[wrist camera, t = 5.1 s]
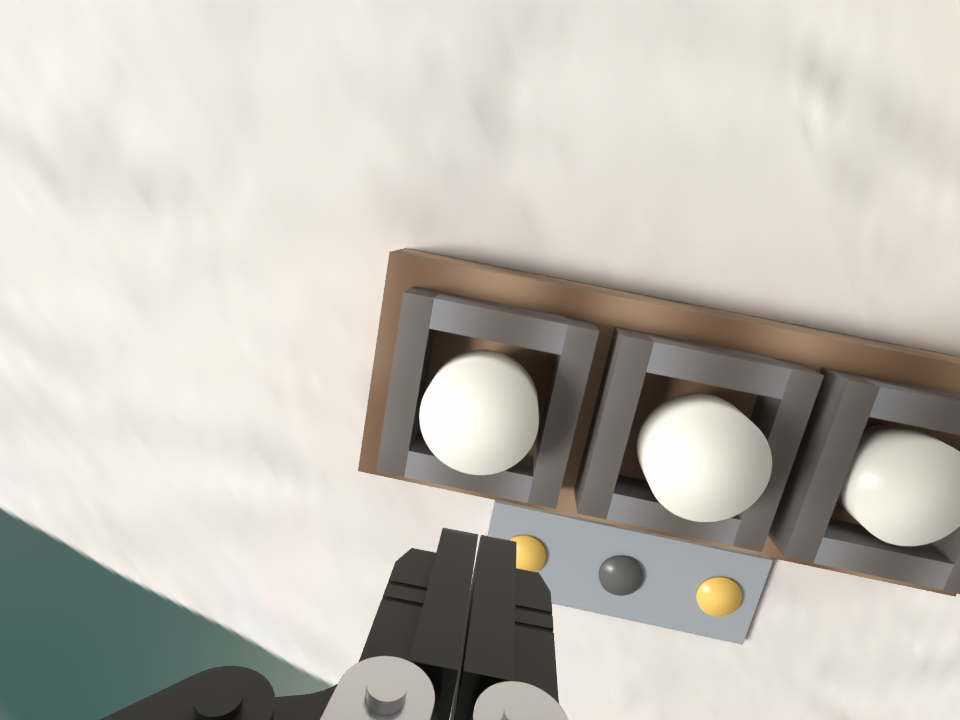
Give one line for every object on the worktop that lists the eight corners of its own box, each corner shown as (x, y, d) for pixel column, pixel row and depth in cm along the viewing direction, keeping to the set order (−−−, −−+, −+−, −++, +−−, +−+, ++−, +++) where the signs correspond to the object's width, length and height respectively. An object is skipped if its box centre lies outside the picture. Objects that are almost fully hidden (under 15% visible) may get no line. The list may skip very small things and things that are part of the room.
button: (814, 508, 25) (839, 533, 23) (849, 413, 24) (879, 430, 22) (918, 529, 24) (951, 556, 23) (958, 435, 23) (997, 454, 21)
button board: (375, 445, 29) (344, 491, 24) (404, 248, 27) (377, 255, 22) (911, 557, 28) (990, 628, 23) (994, 363, 26) (1102, 397, 21)
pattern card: (477, 582, 30) (476, 589, 30) (495, 498, 29) (494, 504, 29) (740, 639, 30) (744, 647, 29) (769, 556, 29) (774, 563, 28)
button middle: (624, 484, 23) (633, 508, 21) (652, 382, 22) (664, 398, 20) (732, 506, 23) (751, 532, 21) (765, 405, 22) (788, 423, 20)
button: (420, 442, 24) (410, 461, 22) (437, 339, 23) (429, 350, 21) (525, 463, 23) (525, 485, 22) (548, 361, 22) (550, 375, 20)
